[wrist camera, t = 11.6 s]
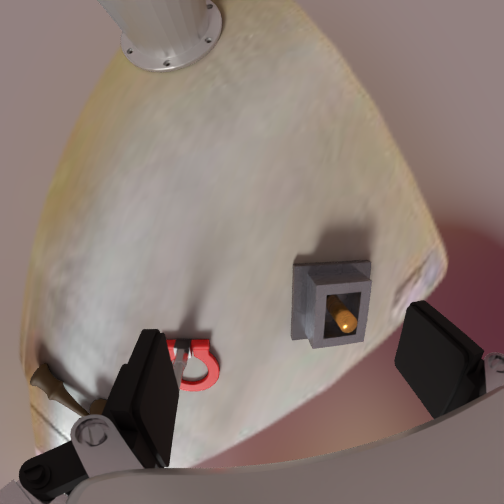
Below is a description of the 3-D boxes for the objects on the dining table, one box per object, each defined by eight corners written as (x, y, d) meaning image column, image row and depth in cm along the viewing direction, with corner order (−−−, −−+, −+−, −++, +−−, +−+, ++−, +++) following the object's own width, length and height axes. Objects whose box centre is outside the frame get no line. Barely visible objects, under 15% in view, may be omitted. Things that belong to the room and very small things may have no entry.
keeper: (292, 264, 34) (306, 284, 28) (367, 260, 35) (394, 277, 28) (290, 336, 37) (301, 367, 30) (359, 328, 37) (380, 355, 31)
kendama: (51, 348, 36) (143, 423, 40) (37, 374, 38) (120, 439, 42) (33, 368, 30) (134, 448, 34) (22, 392, 32) (111, 461, 36)
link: (307, 273, 34) (316, 285, 30) (357, 269, 34) (371, 280, 30) (305, 332, 36) (312, 348, 32) (352, 326, 36) (363, 341, 32)
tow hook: (222, 386, 39) (215, 335, 36) (220, 456, 27) (210, 408, 24) (166, 385, 38) (154, 336, 36) (151, 452, 26) (127, 404, 23)
